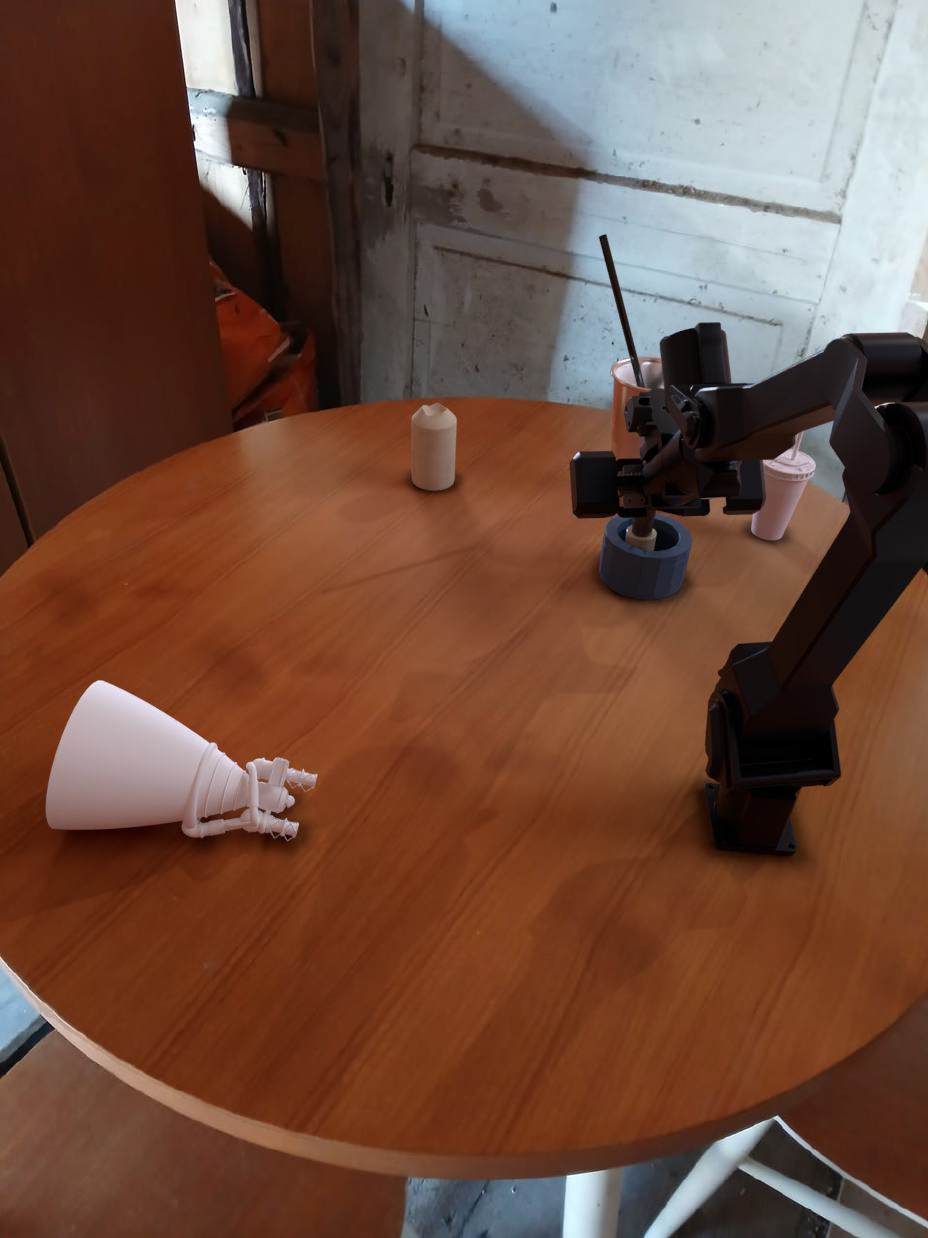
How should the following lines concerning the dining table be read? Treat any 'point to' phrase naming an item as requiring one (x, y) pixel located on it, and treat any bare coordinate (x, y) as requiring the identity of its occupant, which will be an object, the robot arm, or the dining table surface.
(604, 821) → the dining table surface
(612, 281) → the glass
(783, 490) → the smoothie
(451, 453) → the candle
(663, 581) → the jar
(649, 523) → the pestle
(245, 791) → the rocket engine
